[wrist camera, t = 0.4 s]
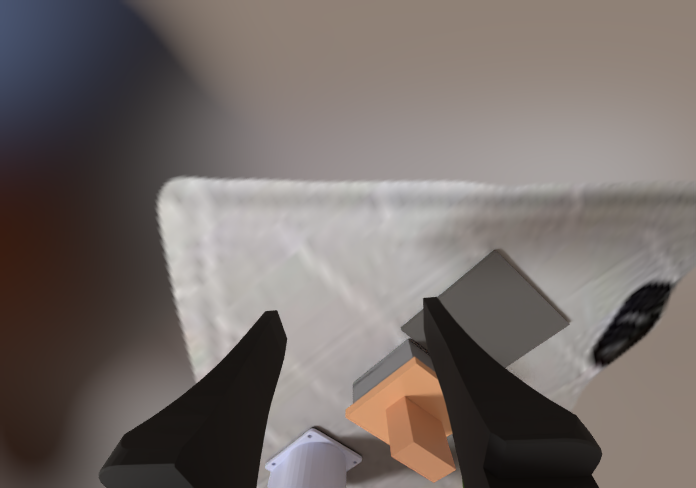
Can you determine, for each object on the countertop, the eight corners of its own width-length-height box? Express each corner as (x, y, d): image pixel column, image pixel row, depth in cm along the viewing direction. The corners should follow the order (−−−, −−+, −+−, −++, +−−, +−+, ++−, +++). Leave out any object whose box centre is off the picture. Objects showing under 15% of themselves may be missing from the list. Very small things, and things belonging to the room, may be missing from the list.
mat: (473, 384, 30) (475, 387, 29) (400, 327, 27) (401, 330, 27) (566, 321, 26) (569, 324, 26) (494, 249, 24) (497, 251, 23)
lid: (408, 440, 30) (420, 508, 25) (345, 400, 28) (344, 464, 23) (475, 396, 28) (505, 461, 22) (412, 348, 25) (428, 407, 20)
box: (405, 418, 32) (410, 446, 29) (352, 383, 30) (353, 409, 27) (460, 379, 29) (472, 406, 27) (407, 338, 27) (414, 362, 25)
